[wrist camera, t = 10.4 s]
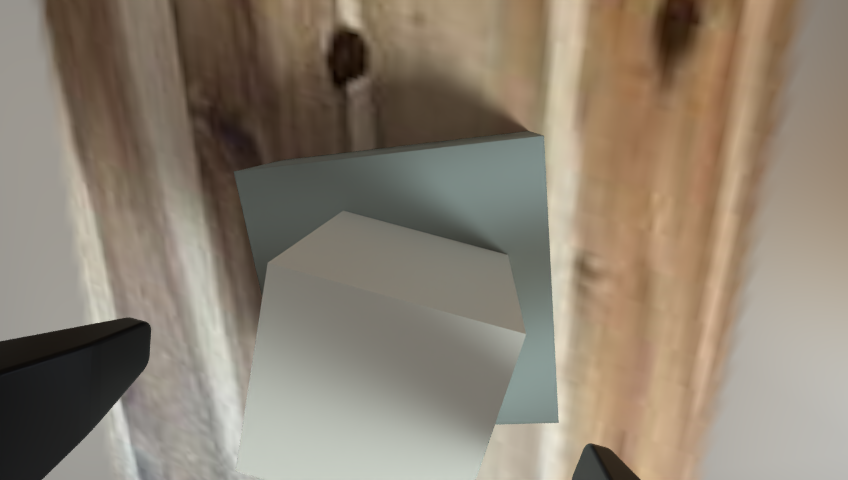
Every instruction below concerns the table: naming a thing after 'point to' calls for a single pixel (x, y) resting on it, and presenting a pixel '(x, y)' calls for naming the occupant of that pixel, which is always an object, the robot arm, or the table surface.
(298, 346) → the cream block
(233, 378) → the table surface
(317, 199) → the slate block
